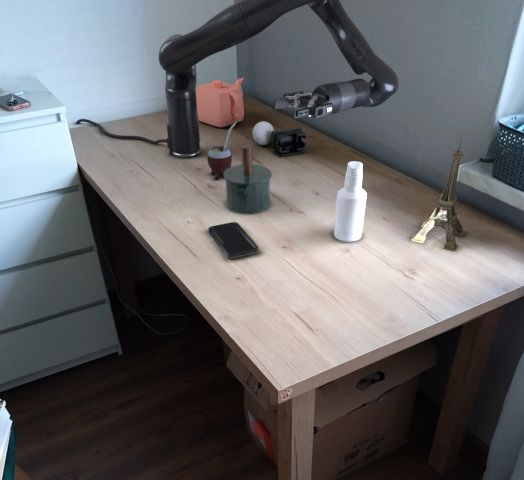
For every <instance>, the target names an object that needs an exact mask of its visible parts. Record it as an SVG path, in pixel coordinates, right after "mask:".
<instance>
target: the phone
mask: <svg viewBox="0 0 524 480" xmlns="http://www.w3.org/2000/svg"><path fill="white" fill-rule="evenodd" d="M208 234H209V235H210V237H211V238H212V240H213V241H214V242H215V243H216V245H217V247H219V249H220V250H221V252H222V253H223V255H224V256H225V257H226V259H229V260H234V259H239V258H243V257H248V256H252V255H257V254H259V246H258V245H257V244H256V243H255V241H254V240H253V239H252V237H250V236H249V234H248V233H247V232H246V230H245V229H244V228H243V227H242V226H241V225H240V224H239V222H237V221H231V222H226V223H222V224H216V225H212V226H209V227H208Z"/></svg>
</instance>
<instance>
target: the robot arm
mask: <svg viewBox="0 0 524 480" xmlns="http://www.w3.org/2000/svg"><path fill="white" fill-rule="evenodd" d="M304 6H308V7H309V8H310V10H312V11H313V13H314V14H315V15H316V16H317V17H318V18H319V19H320V20H321V22H322V23H323V24H324V26H325V27H326V29H327V30H328V32H329V34H330V35H331V38H332V39H333V41H334V42H335V44H336V46H337V48H338V49H339V51H340V53H341V55H342V56H343V57H344V59H345V61H346V62H347V63H348V65H349V67H350V68H351V69H352V71H353V72H354V73H355V75H357V76H361V75H363V74H365V73H366V74H367V75H369V76H370V77H371V78H370V80H368V81H367V80H366V79H364V78H354V79H353V78H352V79H349V80H339V81H334V82H329V83H324V84H323V83H322V84H319V85H317V86H316V87H315V88H314V89H313V91H312V92H306V93H304V90H298V91H292V92H287V93H283V94H282V95H283V97H282V98H281V97H280V98H277V99H274V100H273V109H274V110H280V109H284V108H285V109H286V108H293V109H292V118H294V119H299V118H303V117H308V118H310V117H312V118H313V119H318V118H321V117H327V116H330V115H335V114H339V113H343V112H346V111H349V110H352V109H355V108H360V107H362V108H375V107H378V106H380V105H382V104H383V103H385V102H386V101H387V100H389V98H391V97H392V96H393V95H395V94H396V93H397V91H398V90H399V87H400V80H399V77H398V74H397V72H396V71H395V70H394V69H393V67H391V66H390V65H389V64H388V62H385V61H384V59H382V58H381V57H380V56H378V54H376V52H375V51H374V49H373V48H372V46H371V45H370V43H369V41H368V39H367V38H366V37H365V35H364V33H363V32H362V31H361V29H360V28H359V27H358V26H357V25H356V23H355V22H354V21H353V20H352V18H351V17H350V15H349V14H348V13H347V11H346V10H345V8H344V7H343V5H342V2H341V1H340V0H238V1H236V2H234V3H233V4H231V5H229V6H227V7H226V8H224V9H222V10H221V11H219V12H218V13H217V14H215V15H214V16H212V17H211V18H210V19H208V20H207V21H206V22H205V23H203V24H202V25H201V26H199V27H198V28H196V29H194V30H192V31H190V32H188V33H185V34H179V33H176V34H172V35H170V36H168V37H167V39H165V40H164V42H163V43H162V44H161V46H160V49H159V50H158V63H159V65H160V67H161V68H162V70H163V71H164V72H165V85H164V93H165V101H166V103H165V104H166V110H167V111H166V112H167V120H168V122H167V124H166V132H167V137H166V138H161V139H157V140H152V139H149V138H146V137H144V136H139V135H121V134H114V133H110V132H108V131H106V130H104V129H103V128H102V126H101V124H99V123H98V122H95V121H93V120H90V119H88V118H87V119H86V118H80V119H78V120H76V122H75V125H80V123H83V122H84V123H88V124H90V125H94V126H96V127H97V128H98V131H100V132H101V134H104V135H106V136H108V137H110V138H114V139H122V140H123V139H124V140H126V139H128V140H141V141H144V142H147V143H149V144H152V145H158V144H161V143H166V146H167V149H168V150H169V155H170V156H174V157H176V158H181V159H189V158H194V157H197V156H199V155H200V154H201V153H202V149H201V146H202V140H201V137H200V125H199V123H200V121H199V120H198V110H197V97H196V87H197V82H198V81H197V64H198V63H200V62H202V61H203V60H205V59H207V58H209V57H210V56H212V55H216V54H218V53H220V52H223V51H225V50H228V49H230V48H233V47H235V46H237V45H239V44H242V43H244V42H246V41H248V40H251V38H254V37H256V36H257V35H259V34H261V33H262V32H264V31H266V29H268V28H269V27H270V26H271V25H273V24H274V23H275V22H276V21H277V20H278V19H280V18H281V17H282V16H284V15H286V14H288V13H290V12H292V11H295V10H297V9H299V8H301V7H304Z"/></svg>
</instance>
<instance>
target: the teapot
mask: <svg viewBox="0 0 524 480" xmlns="http://www.w3.org/2000/svg"><path fill="white" fill-rule="evenodd" d="M244 80H245V77H240V78H238V79H237V80H236V81H235V83H234V84H230V83H227V82H224V81H223V80H221V79H214V80H212V82H208V83H202V84H200V85H198V86H197V85H196V97H197V110H198V122H202V123H204V124H207V125H209V126H214V127H216V128H224V127H227V126H232V125H233V124H234V123H235V122H236V121H237V123H239V122H241V121H243V120H244V116H245V108H244V97H243V92H242V89H241V85H242V82H243V81H244Z"/></svg>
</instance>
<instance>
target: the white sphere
mask: <svg viewBox="0 0 524 480" xmlns="http://www.w3.org/2000/svg"><path fill="white" fill-rule="evenodd" d="M250 129H252V133H251V134H252V139H253V140H254V142H255V143H256V144H258V145H260V146H268V145H271V142H270V136H271V132H272V131H275V129H274V126H273V125H272V124H271V123H270V122H268V121H263V120H262V121H260V122H257V123H256V124H255V125H254V126H253V128H252V127H250Z"/></svg>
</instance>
